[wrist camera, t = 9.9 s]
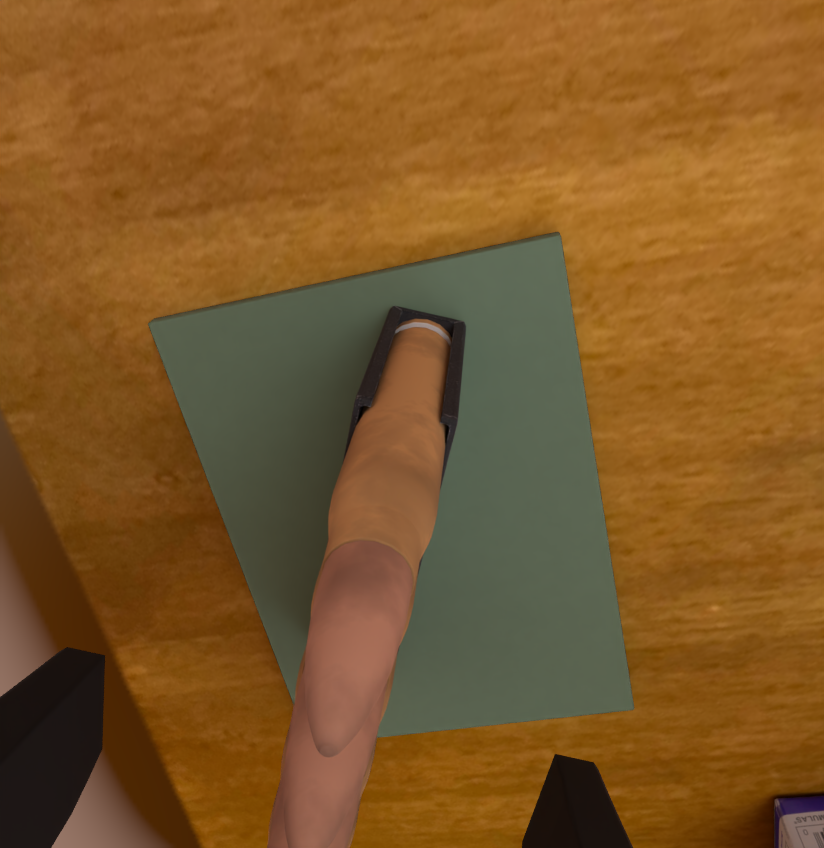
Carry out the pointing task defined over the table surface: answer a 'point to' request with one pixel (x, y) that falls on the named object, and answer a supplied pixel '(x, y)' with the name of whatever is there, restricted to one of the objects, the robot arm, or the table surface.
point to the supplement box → (799, 822)
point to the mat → (460, 491)
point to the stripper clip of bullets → (368, 574)
